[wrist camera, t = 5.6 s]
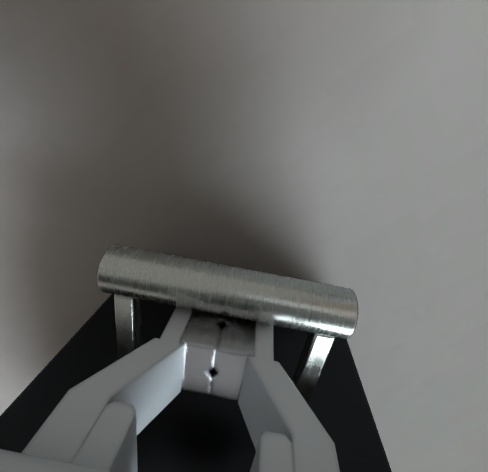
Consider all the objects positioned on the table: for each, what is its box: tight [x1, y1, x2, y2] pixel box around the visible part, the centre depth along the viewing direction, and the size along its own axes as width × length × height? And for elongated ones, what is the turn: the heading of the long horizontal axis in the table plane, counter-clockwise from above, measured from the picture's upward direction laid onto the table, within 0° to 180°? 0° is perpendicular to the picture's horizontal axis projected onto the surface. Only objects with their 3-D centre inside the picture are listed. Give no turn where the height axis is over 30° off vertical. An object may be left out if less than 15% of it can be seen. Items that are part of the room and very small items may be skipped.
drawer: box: [0, 245, 392, 472], centre depth 12 cm, size 18×12×8 cm, turn 171°
